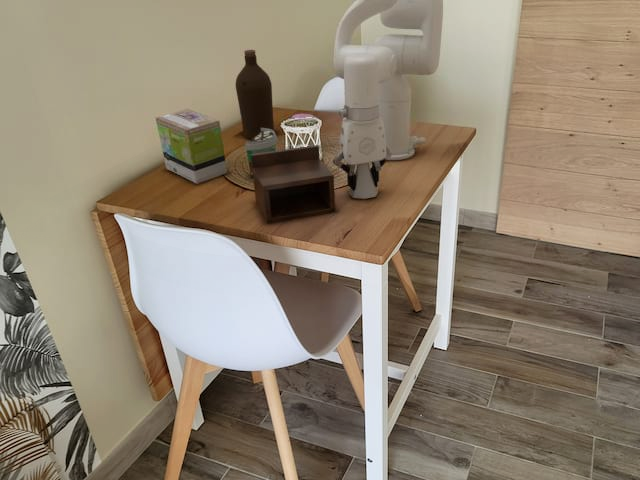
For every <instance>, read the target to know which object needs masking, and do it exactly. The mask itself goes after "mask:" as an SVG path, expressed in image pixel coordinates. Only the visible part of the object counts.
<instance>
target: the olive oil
mask: <svg viewBox="0 0 640 480" xmlns="http://www.w3.org/2000/svg"><path fill="white" fill-rule="evenodd" d="M244 62H245V63H244V66H243V67H242V69H241V70H240V71H239V73H238V74H237V76H236V79H235V91H236V96H237V101H238V107H239V114H240V118H241V119H240V120H241V125H242V131H243V137H245V138H246V139H248V140H252V139H253V137H254V136H256V135H258V134H259V133H260V132H261V128H267V129H271V130H273V131H274V132H275V123H274V107H273V106H274V105H273V86H272V84H273V83H272V81H271V78H270V75H269V74H268V73H267V72H266V71H265V70H264V69H263V68H262V67H261V66H259V64H258V59H257V55H256V50H255V49H246V50H244Z"/></svg>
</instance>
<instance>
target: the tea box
mask: <svg viewBox="0 0 640 480" xmlns="http://www.w3.org/2000/svg"><path fill="white" fill-rule="evenodd" d="M155 121H156V127H157V130H158V135H159V140H160V145H161V149H162V154H163V157H164V158H163V159H164V163H165V168H166V170H168V171H170V172H172V173H174V174H176V175H179V176H181V177H182V178H185V179H186V180H188V181H190V182H192V183H194V184H196V185H198V184H201V183H204V182H207V181H209V180H212V179H215V178H218V177H220V176H223V175H225V174H227V173H228V168H227V162H226V155H225V154H226V153H225V148H224V142H223V141H224V140H223V135H222V129H221V124H220V123H221V122H220V121H221V120H219V119H216V118H213V117H211V116H207V115H205V114H202V113H201V112H200V113H199V112H197V111H195V110H191V109H188V108H185V109H182V110H179V111H175V112H171V113H168V114H164V115H161V116H156V117H155Z"/></svg>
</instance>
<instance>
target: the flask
mask: <svg viewBox="0 0 640 480" xmlns="http://www.w3.org/2000/svg"><path fill="white" fill-rule="evenodd" d="M370 169H371V167H370V163H364V164H358V165H356V168H355V172H354V174H355V175H356V189H355V191H353V190H352V189H351V188H350V187H349V191H348V194H349V195H350V196H351V197H352V198H353V199H363V200H366V199H371V198H374V197H377V195H378V193H379V189H378V187H375V184H374V179H373V176H372V174H371V171H370Z"/></svg>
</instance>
